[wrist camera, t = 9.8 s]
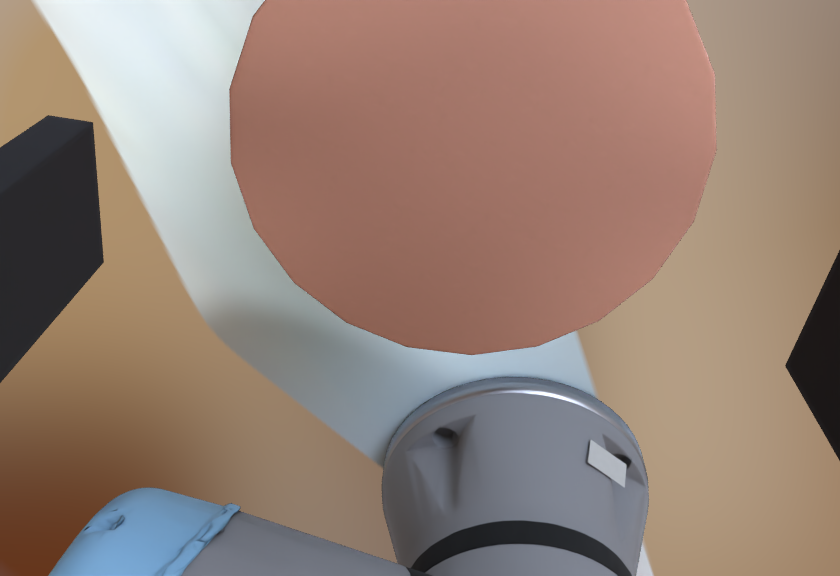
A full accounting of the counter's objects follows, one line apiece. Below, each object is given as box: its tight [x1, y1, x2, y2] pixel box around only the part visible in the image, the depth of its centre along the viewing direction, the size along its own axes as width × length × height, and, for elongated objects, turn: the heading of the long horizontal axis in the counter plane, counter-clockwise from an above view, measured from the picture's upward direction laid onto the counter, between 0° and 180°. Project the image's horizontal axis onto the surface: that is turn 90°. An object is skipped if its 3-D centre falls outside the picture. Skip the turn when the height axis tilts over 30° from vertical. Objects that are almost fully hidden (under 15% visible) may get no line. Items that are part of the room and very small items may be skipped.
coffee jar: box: [229, 0, 716, 355], centre depth 25 cm, size 11×11×18 cm
